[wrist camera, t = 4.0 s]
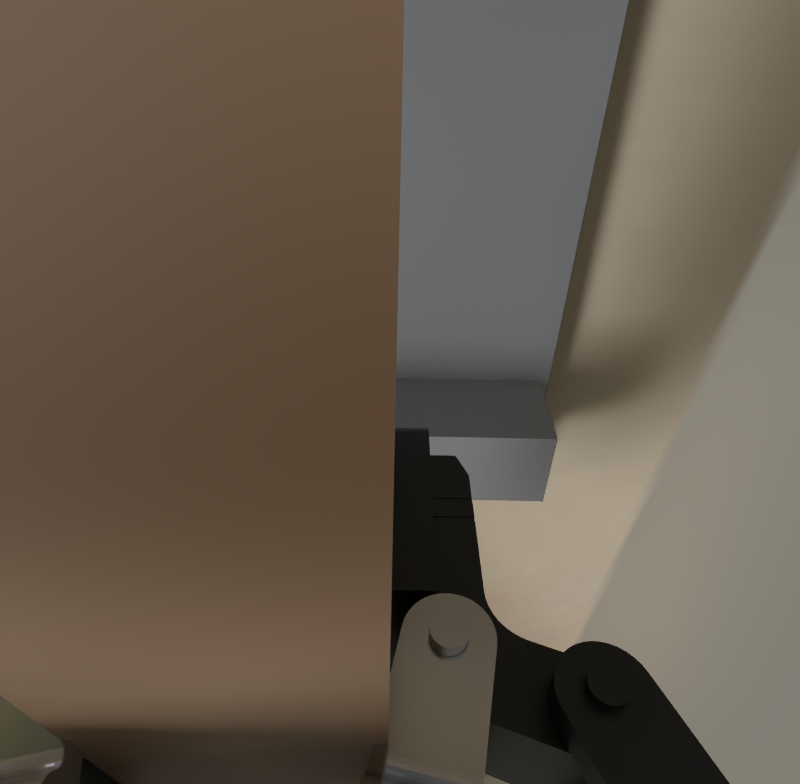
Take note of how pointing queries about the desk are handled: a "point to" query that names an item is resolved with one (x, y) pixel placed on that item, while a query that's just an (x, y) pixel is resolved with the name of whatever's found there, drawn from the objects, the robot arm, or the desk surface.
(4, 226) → the wooden plank
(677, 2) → the desk surface
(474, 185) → the notch rack
